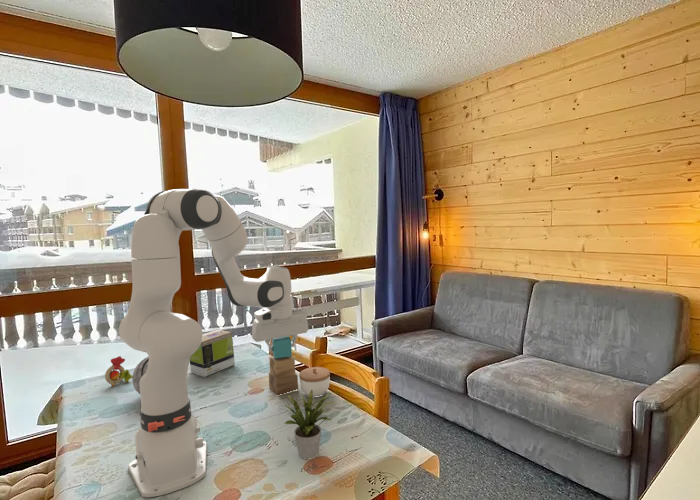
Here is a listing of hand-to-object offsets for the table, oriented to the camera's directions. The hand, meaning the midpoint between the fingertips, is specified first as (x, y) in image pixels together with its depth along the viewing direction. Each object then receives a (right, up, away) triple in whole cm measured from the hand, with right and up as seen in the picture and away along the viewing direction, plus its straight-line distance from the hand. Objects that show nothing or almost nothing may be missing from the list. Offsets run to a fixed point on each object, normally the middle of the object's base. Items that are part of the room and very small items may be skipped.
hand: (281, 348), depth 141 cm
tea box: (-33, -15, +24) cm, 43 cm away
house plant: (+15, -18, -39) cm, 45 cm away
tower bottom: (0, -15, +1) cm, 15 cm away
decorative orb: (-45, -17, 0) cm, 48 cm away
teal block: (0, -2, 0) cm, 2 cm away
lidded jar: (+12, -15, -3) cm, 20 cm away
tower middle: (0, -9, +1) cm, 9 cm away
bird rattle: (-65, -17, +12) cm, 69 cm away
